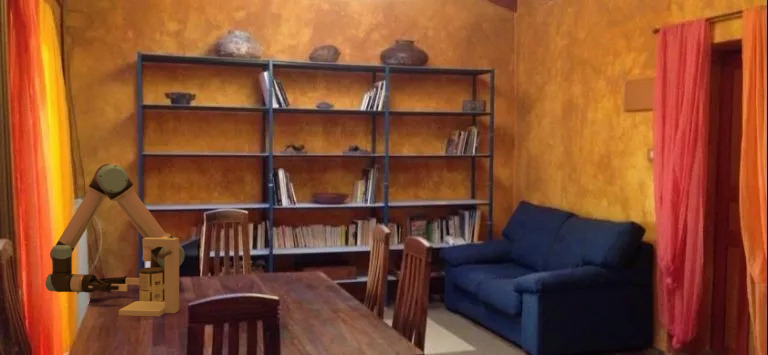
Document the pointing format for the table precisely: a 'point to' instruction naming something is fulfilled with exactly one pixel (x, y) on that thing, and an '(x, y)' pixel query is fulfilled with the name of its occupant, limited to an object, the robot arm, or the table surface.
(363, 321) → the table surface
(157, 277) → the coffee can
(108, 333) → the table surface
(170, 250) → the press
